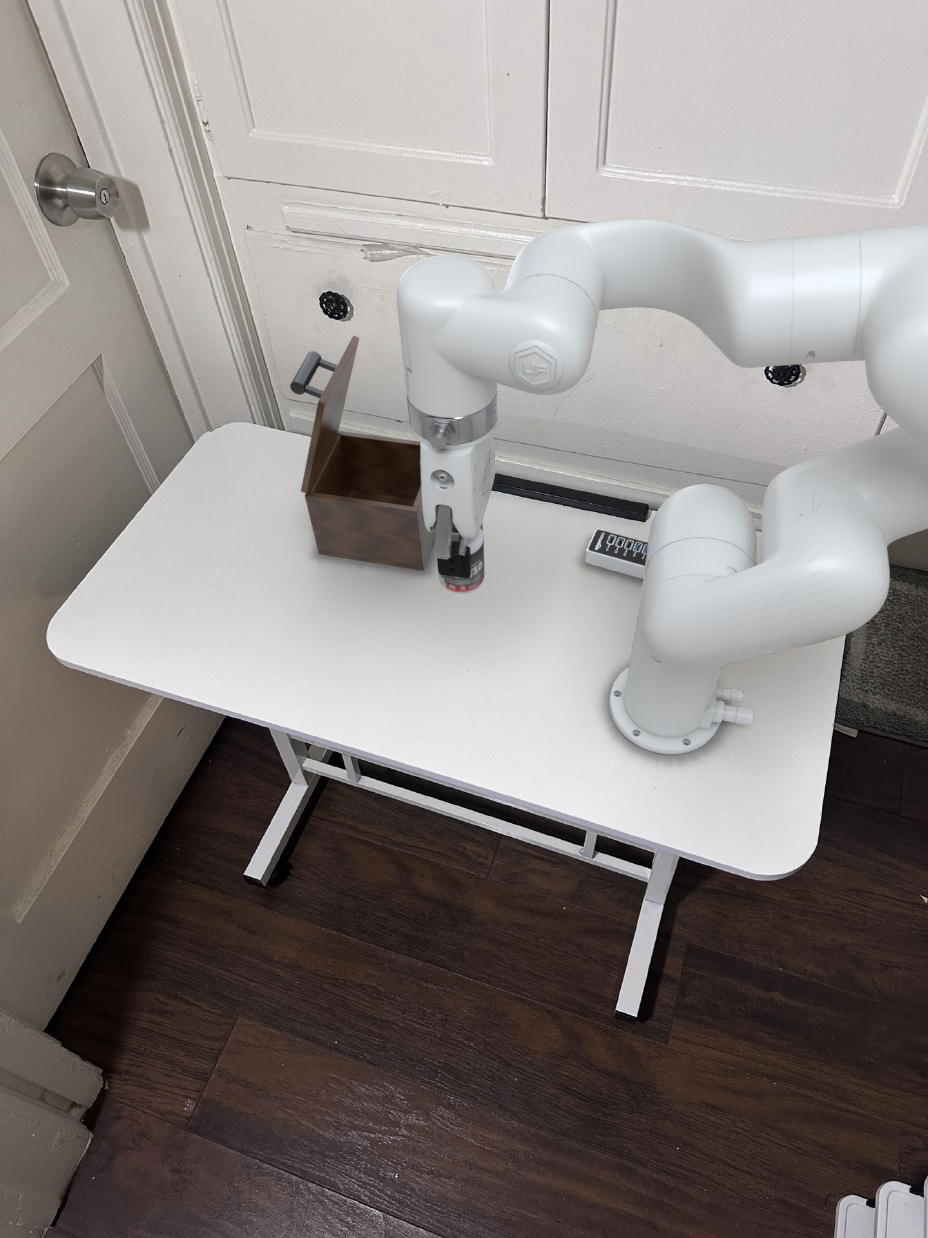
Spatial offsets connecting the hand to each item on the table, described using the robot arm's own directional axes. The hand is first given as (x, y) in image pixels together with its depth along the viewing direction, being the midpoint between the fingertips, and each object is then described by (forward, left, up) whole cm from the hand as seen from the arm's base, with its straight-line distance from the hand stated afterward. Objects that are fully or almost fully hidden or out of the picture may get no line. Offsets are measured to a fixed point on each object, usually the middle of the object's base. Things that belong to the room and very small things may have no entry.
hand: (460, 552), depth 91 cm
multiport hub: (-18, -22, -23) cm, 36 cm away
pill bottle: (0, 0, -4) cm, 4 cm away
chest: (+17, -22, -22) cm, 36 cm away
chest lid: (+22, -22, -4) cm, 31 cm away
